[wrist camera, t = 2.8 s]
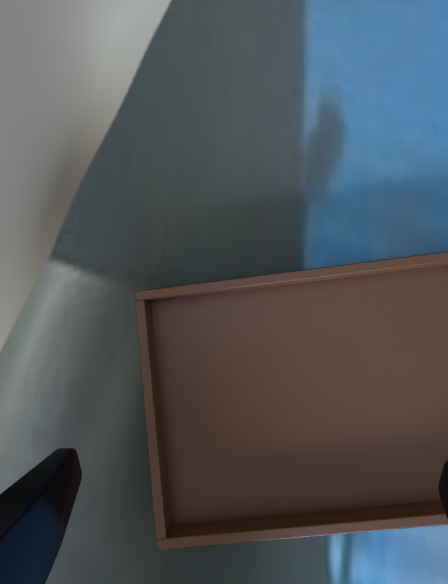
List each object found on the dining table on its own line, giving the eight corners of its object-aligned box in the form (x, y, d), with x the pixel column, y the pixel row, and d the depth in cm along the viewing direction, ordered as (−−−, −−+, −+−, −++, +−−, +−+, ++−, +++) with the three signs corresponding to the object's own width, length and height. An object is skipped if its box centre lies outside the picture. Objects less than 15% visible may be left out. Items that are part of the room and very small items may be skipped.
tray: (525, 499, 23) (553, 515, 21) (165, 532, 24) (157, 550, 22) (475, 252, 25) (496, 245, 23) (143, 295, 26) (134, 291, 24)
